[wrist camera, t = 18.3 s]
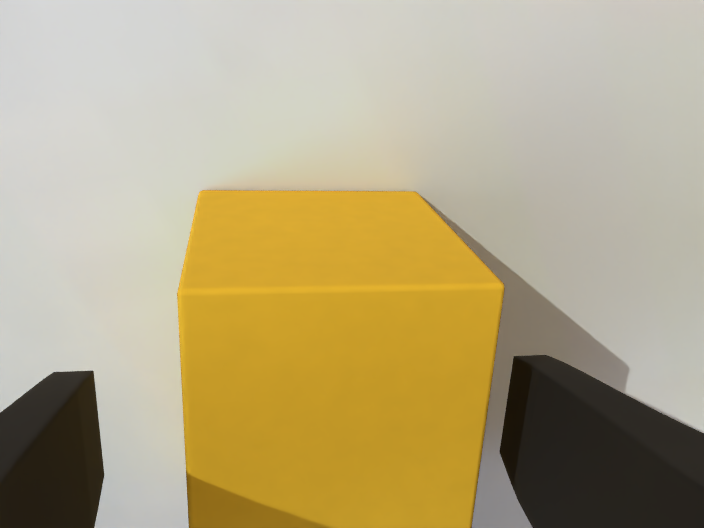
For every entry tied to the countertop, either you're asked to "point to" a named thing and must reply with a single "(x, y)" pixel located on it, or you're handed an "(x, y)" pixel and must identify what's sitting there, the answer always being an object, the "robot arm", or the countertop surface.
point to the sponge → (333, 361)
